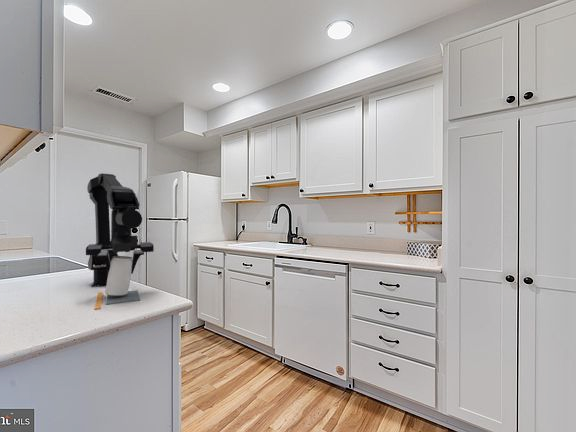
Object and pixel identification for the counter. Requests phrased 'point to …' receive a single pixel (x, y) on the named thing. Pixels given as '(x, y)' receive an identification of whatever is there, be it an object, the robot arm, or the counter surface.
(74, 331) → the counter surface
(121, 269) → the can
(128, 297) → the mat
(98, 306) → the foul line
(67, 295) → the counter surface
